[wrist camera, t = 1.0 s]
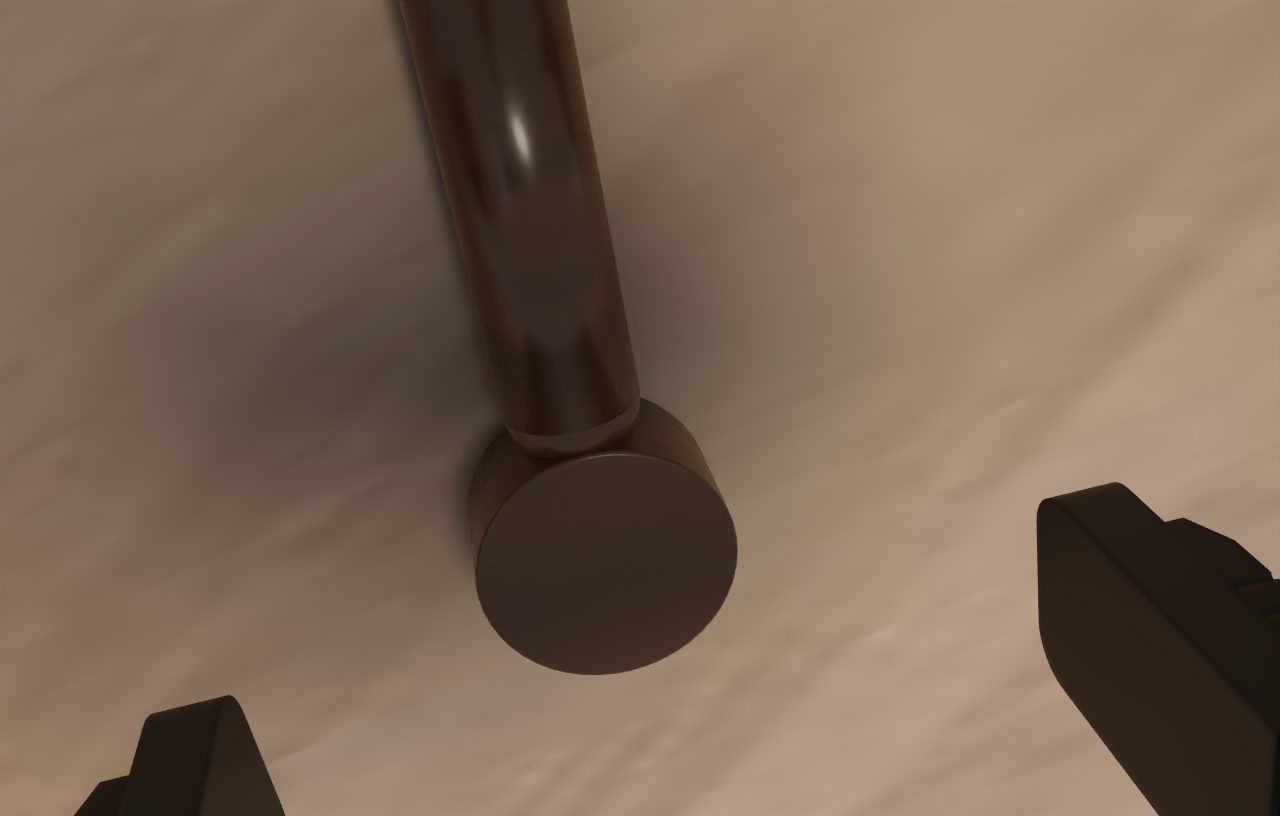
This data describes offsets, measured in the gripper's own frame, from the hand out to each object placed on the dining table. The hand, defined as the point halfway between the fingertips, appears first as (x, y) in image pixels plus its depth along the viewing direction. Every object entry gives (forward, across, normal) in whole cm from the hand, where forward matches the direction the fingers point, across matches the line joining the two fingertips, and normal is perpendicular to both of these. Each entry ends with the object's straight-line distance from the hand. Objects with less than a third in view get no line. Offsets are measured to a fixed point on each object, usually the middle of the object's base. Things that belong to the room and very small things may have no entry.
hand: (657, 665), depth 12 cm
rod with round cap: (+12, 0, 0) cm, 12 cm away
